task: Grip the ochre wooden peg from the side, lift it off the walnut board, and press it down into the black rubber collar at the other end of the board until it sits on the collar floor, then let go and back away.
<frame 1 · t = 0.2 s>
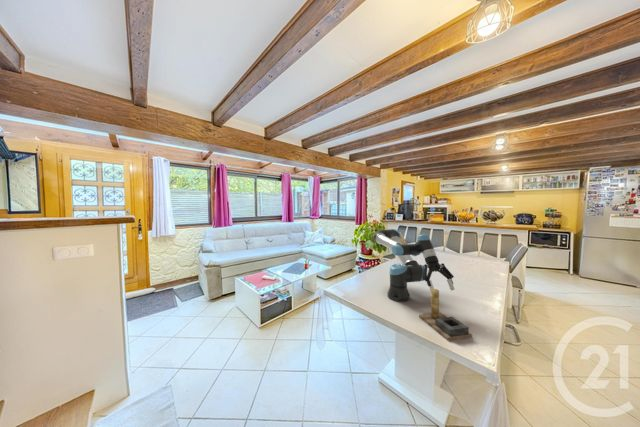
hand: (443, 290, 126), 15 cm above the table, tool tilted 35°, fingers open, 13 cm apart
peg: (434, 317, 121), point 1 cm above the table, touching board
board: (443, 326, 114), on the table
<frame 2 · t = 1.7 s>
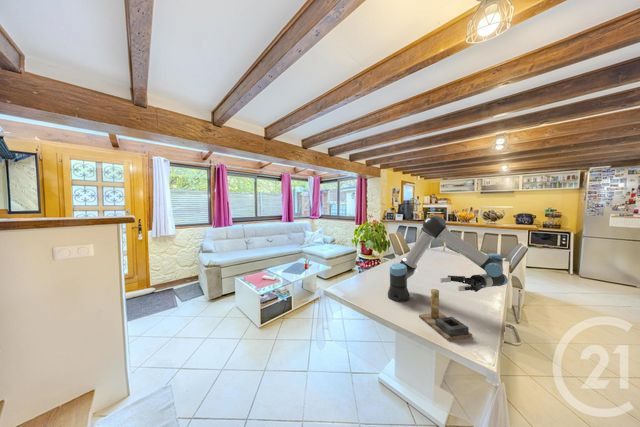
hand: (449, 284, 122), 20 cm above the table, tool horizontal, fingers open, 13 cm apart
nothing on the table moved.
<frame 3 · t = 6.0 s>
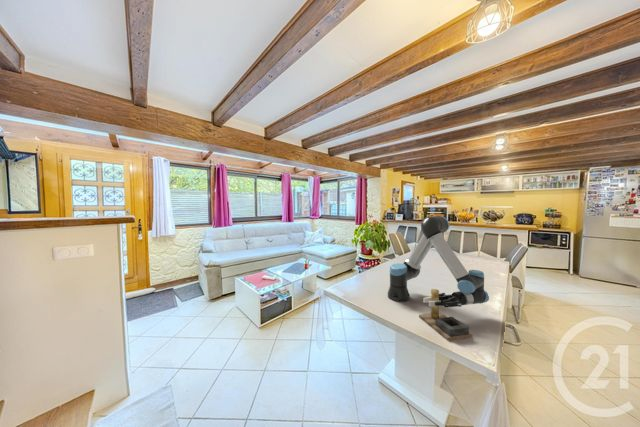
hand: (426, 302, 120), 11 cm above the table, tool horizontal, fingers closed on peg, 4 cm apart
peg: (434, 317, 121), point 2 cm above the table, touching board, gripper
when the fingers open (11 cm above the table, at t = 10.9 s): peg stays where it is, resting on board.
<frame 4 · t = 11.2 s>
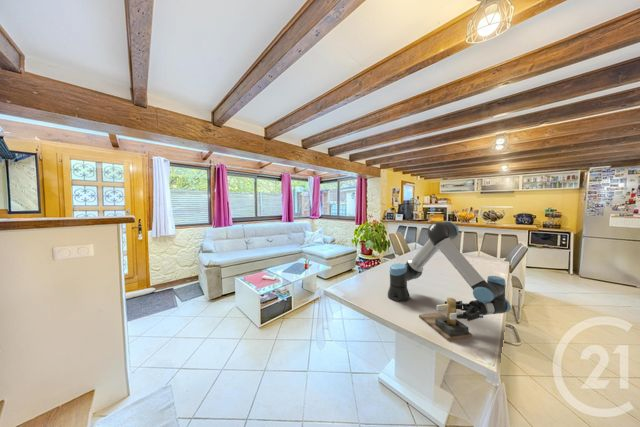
hand: (443, 312, 108), 11 cm above the table, tool horizontal, fingers open, 8 cm apart
peg: (451, 329, 109), point 2 cm above the table, touching board
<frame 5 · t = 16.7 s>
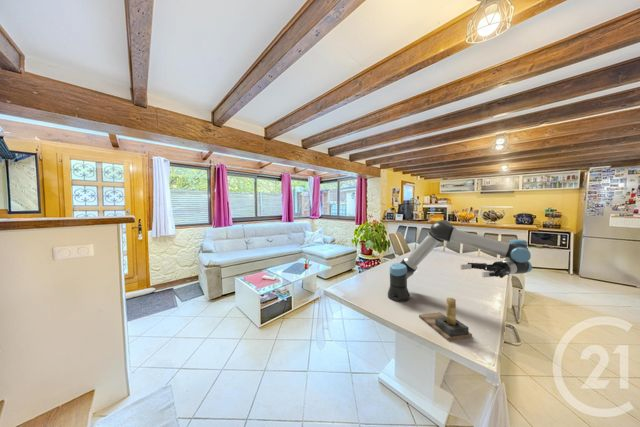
hand: (471, 270, 115), 30 cm above the table, tool horizontal, fingers open, 13 cm apart
nothing on the table moved.
at the end: peg 0.0 cm from the target spot on the board, point 1.5 cm above the board's base; peg tilted 1°; the gripper is holding nothing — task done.
